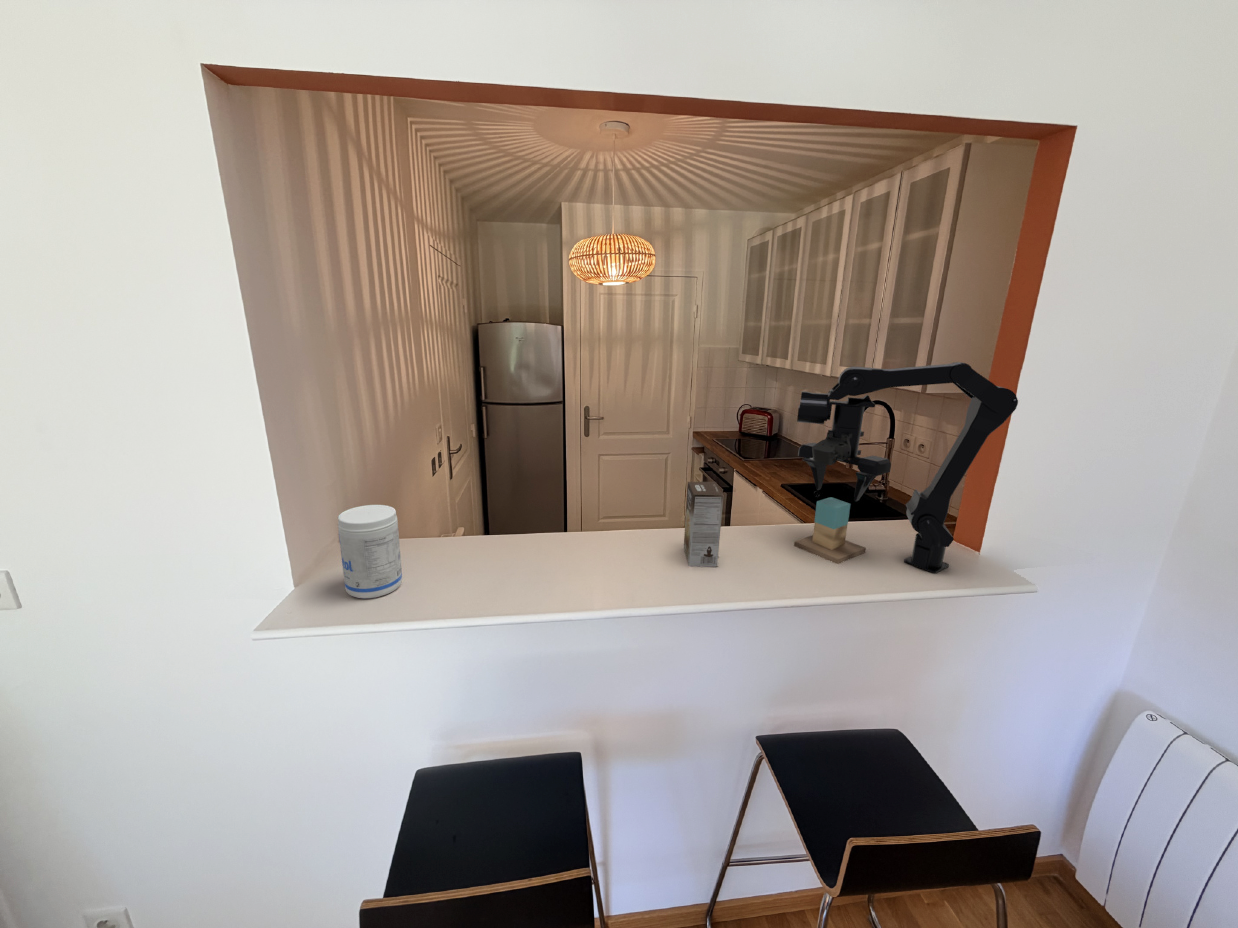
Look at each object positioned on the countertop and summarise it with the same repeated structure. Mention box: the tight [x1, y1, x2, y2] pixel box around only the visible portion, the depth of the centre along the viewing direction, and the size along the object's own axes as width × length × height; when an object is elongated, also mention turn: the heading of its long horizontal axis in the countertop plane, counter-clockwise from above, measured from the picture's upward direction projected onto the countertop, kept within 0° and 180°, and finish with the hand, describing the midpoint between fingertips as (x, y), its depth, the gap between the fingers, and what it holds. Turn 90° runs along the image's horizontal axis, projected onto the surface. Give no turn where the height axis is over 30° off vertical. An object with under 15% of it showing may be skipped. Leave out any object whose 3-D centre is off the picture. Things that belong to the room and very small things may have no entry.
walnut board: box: [793, 534, 867, 565], centre depth 113 cm, size 11×11×2 cm
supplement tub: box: [337, 504, 403, 599], centre depth 89 cm, size 10×10×15 cm
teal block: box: [813, 496, 851, 529], centre depth 111 cm, size 5×5×5 cm
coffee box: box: [683, 481, 724, 568], centre depth 104 cm, size 9×6×16 cm
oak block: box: [812, 522, 848, 550], centre depth 112 cm, size 5×5×5 cm
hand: (836, 495), depth 109 cm, fingers open, 9 cm apart
